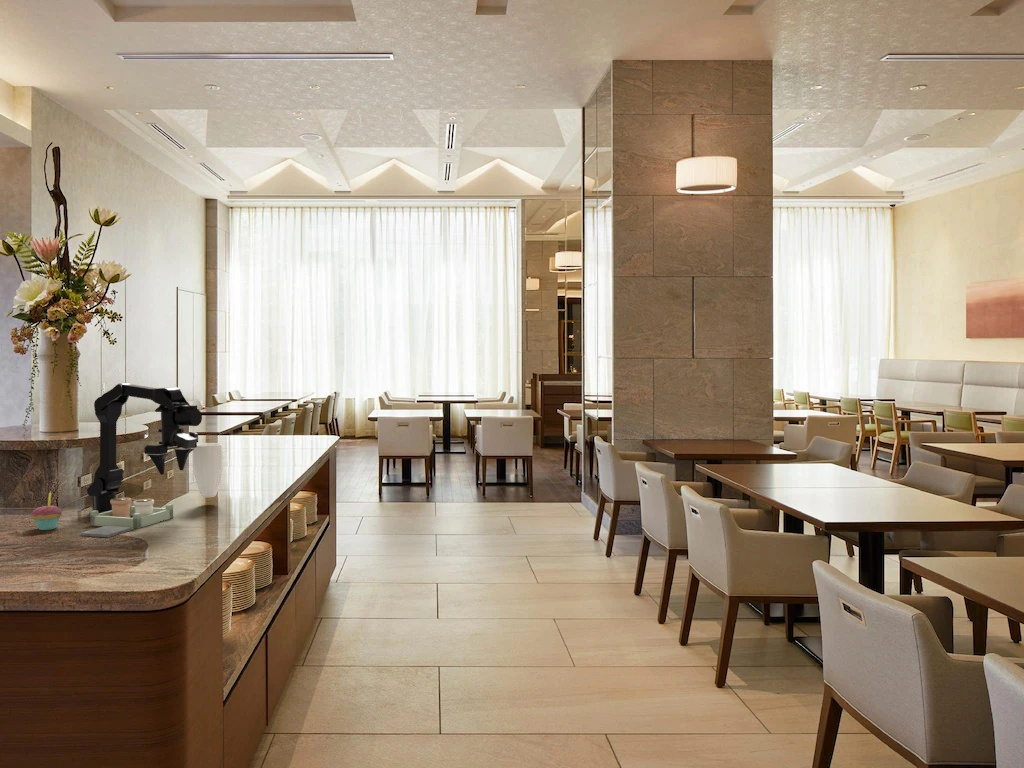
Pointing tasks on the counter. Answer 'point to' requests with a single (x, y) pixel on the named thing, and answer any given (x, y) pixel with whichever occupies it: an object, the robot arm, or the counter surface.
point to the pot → (144, 506)
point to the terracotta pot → (121, 507)
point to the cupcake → (46, 516)
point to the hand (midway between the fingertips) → (172, 472)
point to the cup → (208, 467)
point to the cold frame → (134, 522)
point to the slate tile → (106, 531)
